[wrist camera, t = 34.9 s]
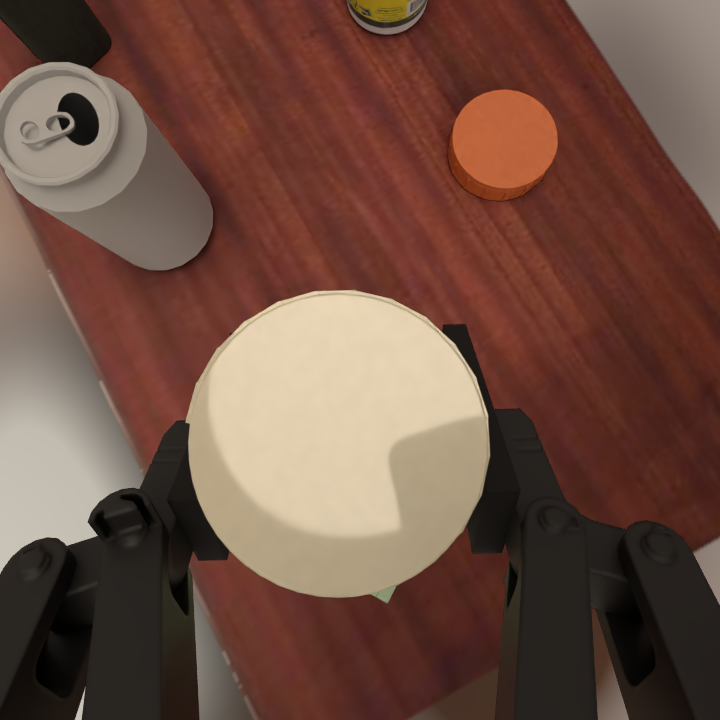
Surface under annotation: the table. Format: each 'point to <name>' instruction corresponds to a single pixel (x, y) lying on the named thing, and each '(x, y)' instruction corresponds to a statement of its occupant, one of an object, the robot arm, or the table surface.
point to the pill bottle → (386, 14)
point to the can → (101, 165)
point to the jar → (338, 443)
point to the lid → (502, 144)
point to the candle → (57, 29)
